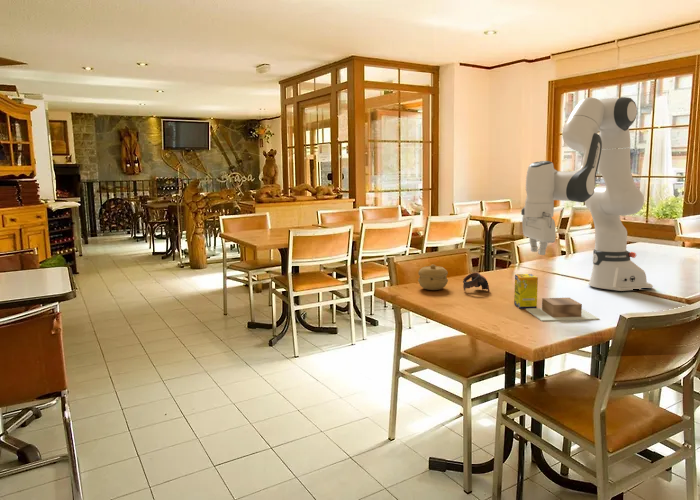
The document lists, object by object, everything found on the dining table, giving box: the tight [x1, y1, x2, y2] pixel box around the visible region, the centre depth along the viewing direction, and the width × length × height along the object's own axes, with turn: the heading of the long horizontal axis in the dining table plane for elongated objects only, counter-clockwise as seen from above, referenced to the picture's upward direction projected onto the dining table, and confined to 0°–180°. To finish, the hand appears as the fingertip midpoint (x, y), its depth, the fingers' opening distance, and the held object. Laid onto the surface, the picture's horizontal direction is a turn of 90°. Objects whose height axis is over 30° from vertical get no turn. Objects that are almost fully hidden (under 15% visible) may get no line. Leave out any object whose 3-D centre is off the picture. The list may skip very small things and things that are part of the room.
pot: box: [417, 264, 449, 291], centre depth 210 cm, size 12×12×10 cm
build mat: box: [525, 307, 600, 322], centre depth 169 cm, size 18×14×1 cm
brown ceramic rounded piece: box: [462, 271, 491, 293], centre depth 205 cm, size 12×9×8 cm
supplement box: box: [513, 273, 539, 310], centre depth 179 cm, size 6×6×11 cm
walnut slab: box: [541, 297, 583, 317], centre depth 169 cm, size 9×9×4 cm
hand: (537, 253), depth 174 cm, fingers open, 6 cm apart
